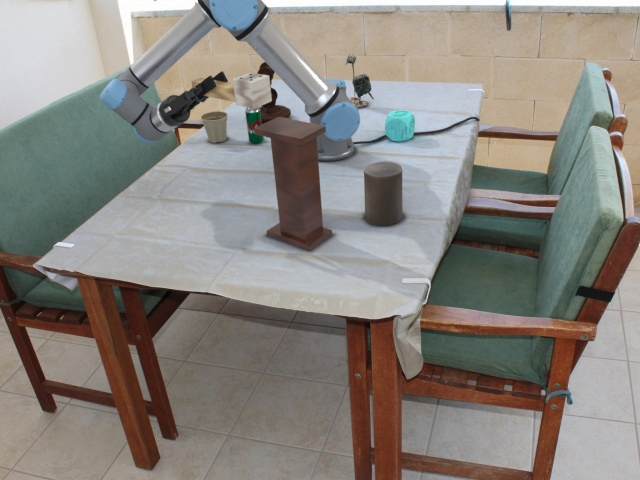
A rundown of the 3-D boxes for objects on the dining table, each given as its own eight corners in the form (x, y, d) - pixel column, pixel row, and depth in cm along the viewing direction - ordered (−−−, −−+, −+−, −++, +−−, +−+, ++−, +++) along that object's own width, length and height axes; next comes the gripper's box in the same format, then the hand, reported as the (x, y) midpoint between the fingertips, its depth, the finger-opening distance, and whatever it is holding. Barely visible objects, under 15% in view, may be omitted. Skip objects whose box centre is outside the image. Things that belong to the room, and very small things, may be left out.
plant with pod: (371, 109, 240) (370, 54, 229) (341, 108, 243) (339, 54, 232) (375, 102, 246) (374, 48, 236) (346, 101, 249) (344, 48, 239)
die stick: (272, 101, 151) (269, 74, 148) (254, 108, 147) (251, 81, 144) (206, 88, 163) (202, 63, 160) (189, 95, 159) (184, 70, 156)
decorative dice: (384, 140, 213) (384, 117, 208) (391, 132, 219) (391, 109, 215) (408, 142, 210) (408, 119, 206) (414, 133, 216) (415, 110, 212)
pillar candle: (392, 229, 162) (391, 174, 154) (358, 221, 167) (356, 167, 159) (408, 212, 169) (409, 159, 161) (375, 205, 174) (374, 153, 166)
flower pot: (226, 145, 218) (222, 120, 214) (200, 144, 220) (196, 120, 216) (234, 135, 226) (231, 111, 222) (209, 134, 228) (205, 111, 224)
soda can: (266, 139, 221) (262, 105, 214) (260, 145, 217) (256, 110, 210) (252, 138, 222) (248, 104, 216) (246, 144, 218) (242, 109, 212)
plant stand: (332, 235, 162) (325, 126, 146) (310, 251, 156) (300, 138, 141) (289, 221, 169) (279, 116, 154) (266, 236, 163) (253, 128, 148)
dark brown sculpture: (253, 113, 245) (247, 60, 234) (292, 111, 244) (287, 57, 233) (249, 127, 232) (241, 71, 221) (289, 125, 231) (284, 68, 221)
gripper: (200, 116, 178) (249, 84, 160) (154, 136, 167) (201, 103, 150) (187, 91, 176) (234, 55, 159) (140, 109, 166) (185, 73, 148)
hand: (218, 78), depth 154 cm, fingers closed on die stick, 3 cm apart
